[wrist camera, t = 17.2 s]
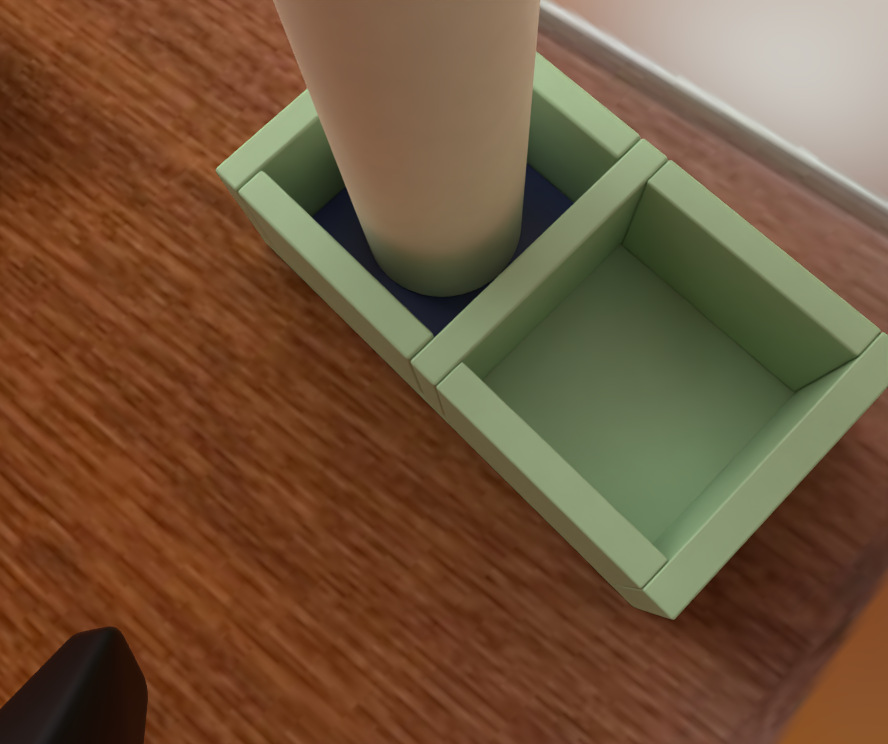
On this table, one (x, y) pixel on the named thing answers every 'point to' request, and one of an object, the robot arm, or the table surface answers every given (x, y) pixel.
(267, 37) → the table surface
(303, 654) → the table surface
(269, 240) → the green divided tray
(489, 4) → the red-lidded canister
